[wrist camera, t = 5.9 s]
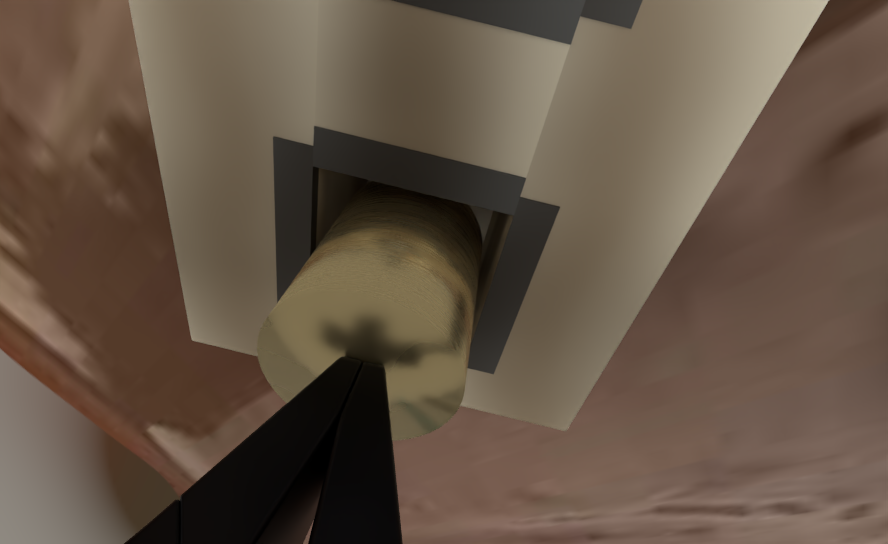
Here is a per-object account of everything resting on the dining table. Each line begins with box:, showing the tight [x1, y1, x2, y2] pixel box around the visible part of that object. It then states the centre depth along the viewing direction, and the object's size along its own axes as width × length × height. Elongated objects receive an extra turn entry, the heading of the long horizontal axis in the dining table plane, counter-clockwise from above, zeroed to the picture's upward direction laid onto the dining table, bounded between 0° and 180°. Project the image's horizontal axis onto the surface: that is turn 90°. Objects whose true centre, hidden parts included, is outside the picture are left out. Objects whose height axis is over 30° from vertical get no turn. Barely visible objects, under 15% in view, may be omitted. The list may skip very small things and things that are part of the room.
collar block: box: [129, 0, 829, 431], centre depth 11 cm, size 12×18×6 cm, turn 169°
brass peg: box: [257, 181, 482, 441], centre depth 10 cm, size 4×4×5 cm
